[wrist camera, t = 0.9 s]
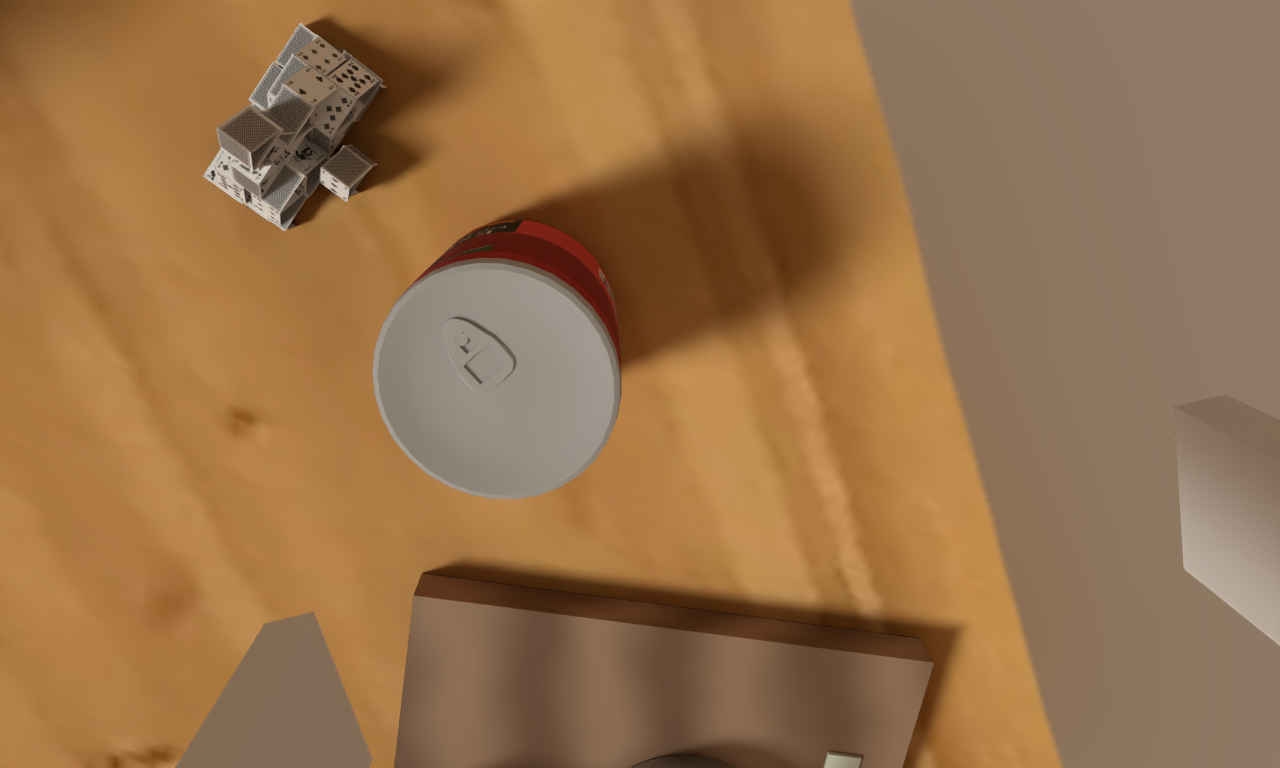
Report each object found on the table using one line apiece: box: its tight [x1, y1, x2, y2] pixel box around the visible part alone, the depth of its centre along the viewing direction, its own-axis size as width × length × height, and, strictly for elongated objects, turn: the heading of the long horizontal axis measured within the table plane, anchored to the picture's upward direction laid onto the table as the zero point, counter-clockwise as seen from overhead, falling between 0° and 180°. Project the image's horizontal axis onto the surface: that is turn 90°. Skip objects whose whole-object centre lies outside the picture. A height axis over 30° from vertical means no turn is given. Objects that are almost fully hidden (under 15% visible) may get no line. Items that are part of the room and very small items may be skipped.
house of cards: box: [203, 23, 387, 231], centre depth 34 cm, size 9×9×8 cm
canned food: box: [373, 220, 621, 499], centre depth 34 cm, size 8×8×11 cm
